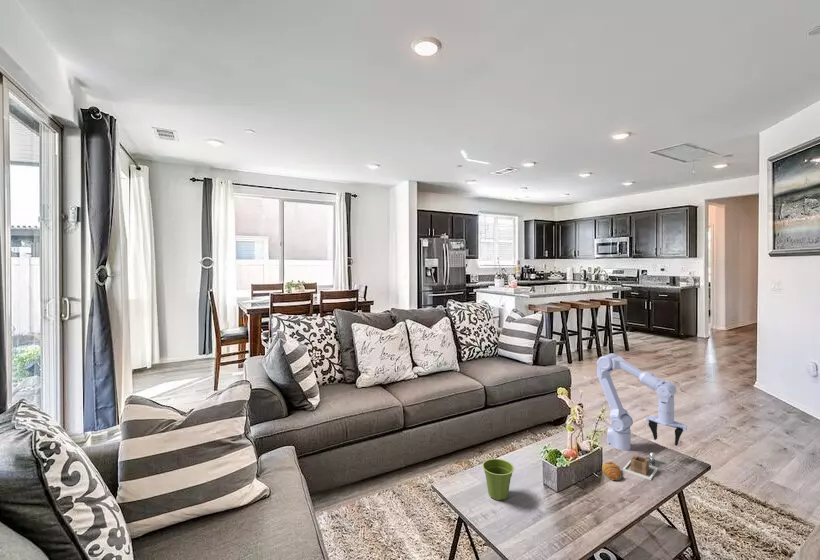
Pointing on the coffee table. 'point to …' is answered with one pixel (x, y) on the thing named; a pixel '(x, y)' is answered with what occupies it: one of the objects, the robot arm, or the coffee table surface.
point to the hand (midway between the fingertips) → (665, 441)
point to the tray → (640, 474)
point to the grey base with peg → (653, 460)
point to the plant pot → (498, 477)
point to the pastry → (611, 470)
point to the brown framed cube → (640, 465)
